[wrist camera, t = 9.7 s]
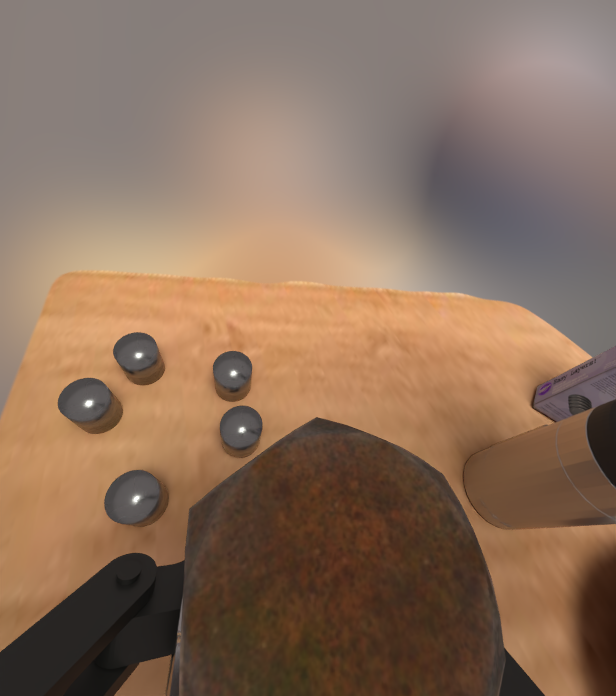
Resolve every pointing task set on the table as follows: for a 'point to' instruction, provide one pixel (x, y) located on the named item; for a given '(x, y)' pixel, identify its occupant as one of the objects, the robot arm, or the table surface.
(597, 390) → the cake pan box
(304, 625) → the bolt
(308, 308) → the table surface
